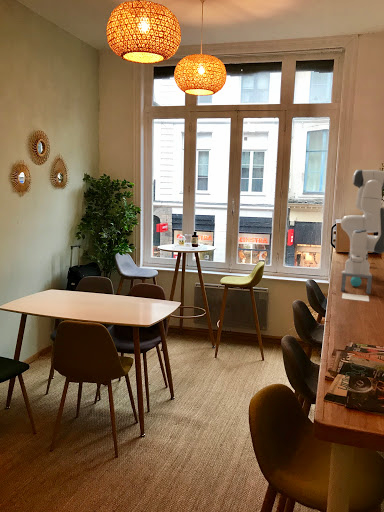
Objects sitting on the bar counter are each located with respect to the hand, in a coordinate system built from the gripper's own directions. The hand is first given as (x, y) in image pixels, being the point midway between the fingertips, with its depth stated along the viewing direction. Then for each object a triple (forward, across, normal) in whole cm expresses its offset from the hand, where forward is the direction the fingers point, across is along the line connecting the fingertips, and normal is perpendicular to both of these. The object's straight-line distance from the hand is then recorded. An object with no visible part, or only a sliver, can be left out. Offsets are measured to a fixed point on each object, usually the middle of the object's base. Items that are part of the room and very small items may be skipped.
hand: (355, 280), depth 271 cm
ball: (-1, +8, 0) cm, 8 cm away
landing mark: (+2, +37, 0) cm, 37 cm away
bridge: (+2, +23, 0) cm, 24 cm away
